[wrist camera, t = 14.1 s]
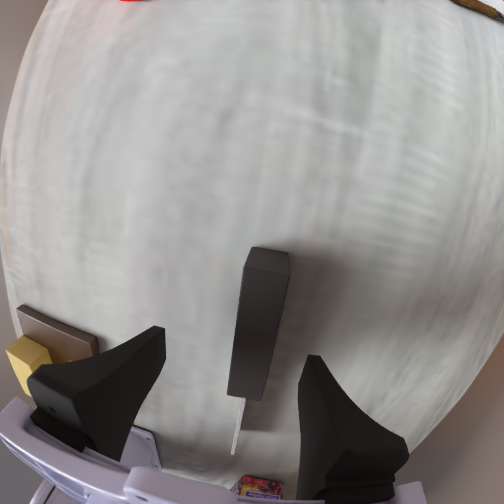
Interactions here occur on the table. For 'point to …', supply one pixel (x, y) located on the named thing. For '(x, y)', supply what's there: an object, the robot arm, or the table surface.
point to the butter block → (27, 358)
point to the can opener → (480, 8)
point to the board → (57, 337)
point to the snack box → (258, 488)
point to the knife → (257, 325)
